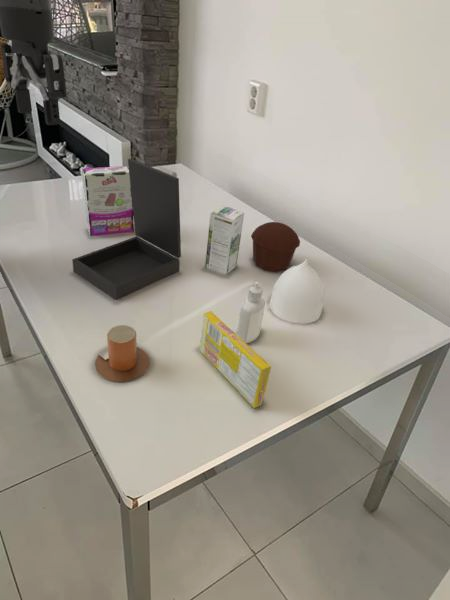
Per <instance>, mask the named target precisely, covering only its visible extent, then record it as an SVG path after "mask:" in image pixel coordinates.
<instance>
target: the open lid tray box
mask: <svg viewBox="0 0 450 600" xmlns="http://www.w3.org/2000/svg"><path fill="white" fill-rule="evenodd" d="M180 260H181V259H180V258H177V257H175V256H173V255H171V254H169V253H168V252H166V251H164V250H162V249H160V248H158V247H157V246H155V245H153V244H151V243H149V242H147V241H146V240H144V239H142V238H140V237H138V236H136V235H135V236H134V237H131V238H128V239H125V240H122V241H119V242H117V243H114V244H111V245H108V246H105V247H103V248H99V249H98V250H94V251H92V252H89V253H85V254H83V255H80V256H78V257H75V258H72V259H71V261H72V271H73V273H75V274H76V275H78V276H79V277H81V278H82V279H84V280H85V281H86V282H88V283H89V284H91V285H92V286H94V287H95V288H97V289H99V290H100V291H101V292H103V293H105V294H106V295H108V296H109V297H111V298H112V299H113V300H115V301H118V300H121V299H122V298H124V297H127V296H129V295H131V294H133V293H135V292H137V291H140V290H142V289H144V288H147V287H148V286H151V285H153V284H155V283H157V282H159V281H161V280H164V279H166V278H168V277H170V276H172V275H174V274H177V273H178V272H180Z"/></svg>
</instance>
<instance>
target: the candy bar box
mask: <svg viewBox="0 0 450 600" xmlns="http://www.w3.org/2000/svg"><path fill="white" fill-rule="evenodd" d="M81 172H82V173H81V175H82V182H83V183H82V184H83V194H84V205H85V206H84V207H85V215H86V225H87V226H86V227H87V231H88V234H89V236H90V237H94V236H105V235H115V234H127V233H135V226H134V216H133V206H132V196H131V186H130V176H129V166H128V165H122V166H120V165H119V166H104V167H101V166H100V167H99V166H98V167H85V168H84V167H83V168H81Z"/></svg>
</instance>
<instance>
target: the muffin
mask: <svg viewBox="0 0 450 600" xmlns="http://www.w3.org/2000/svg"><path fill="white" fill-rule="evenodd" d="M251 239H252V260H253V262H254V264H255V266H256V267H257V268H259V269H262V270H263V271H264V272H273V273H278V272H285V271H286V270H287V269H288V268H289V266H290V264H291V263H292V260H293V257H294V254H295V252H296V249H297V248H299V247H300V244H301V240H300V238H299V235H298V234H297V232H296V231H295V230H294V229H293V228H292V227H291V226H289V225H287V224H285V223H282V222H278V221H268V222H265V223H262V224H261V225H258V226H257V227H256V228H255V229H254V230H253V232H252V233H251Z"/></svg>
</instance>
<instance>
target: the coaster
mask: <svg viewBox="0 0 450 600" xmlns="http://www.w3.org/2000/svg"><path fill="white" fill-rule="evenodd" d="M136 348H137V362H136V365H135V366H134V367H133V368H131V369H129V370H126V371H118V370H114V369H113V368H111V366H110V365H109V357H107V358H106V359H105V358H104V357H102V356H101V355H100V354H98V355H97V357H96V359H95V361H94V368H95V371H96V373H97V374H98V375H99V376H100V377H101V378H102V379H104V380H106V381H109V382H112V383H127V382H132V381H135V380H138V379H139V378H141V377H143V376H144V375H145V374H146V372H147V371H148V370H149V367H150V357H149V355H148V354H147V352H146V351H145V350H144V349H142V348H141V347H138V346H136Z"/></svg>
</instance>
